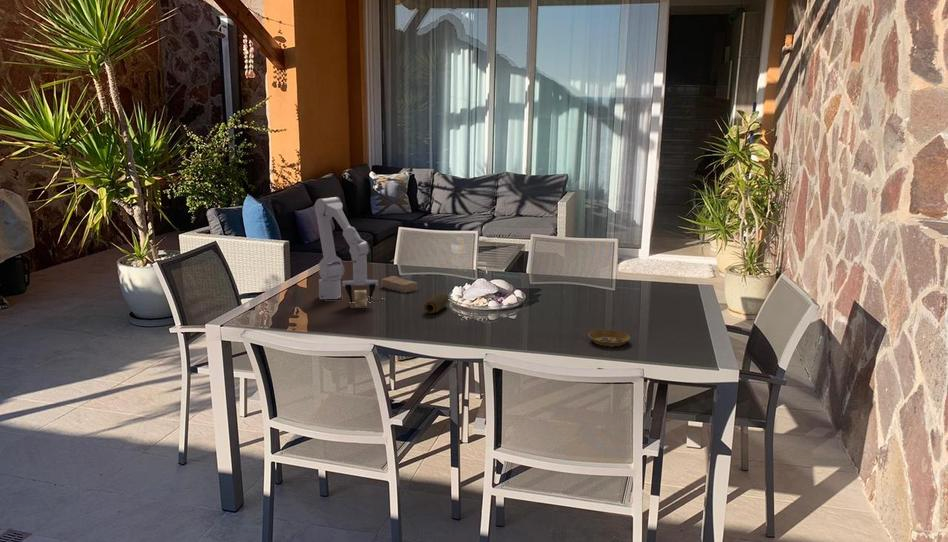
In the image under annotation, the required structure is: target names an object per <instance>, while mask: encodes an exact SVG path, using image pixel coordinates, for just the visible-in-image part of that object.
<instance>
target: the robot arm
mask: <svg viewBox="0 0 948 542" xmlns="http://www.w3.org/2000/svg"><path fill="white" fill-rule="evenodd" d="M341 201H342V200H341V199H340V197H338V196H334V197H325V198H324V197H323V198H318V199H316V201H315V203H314V210H315V217H316V220H317V226H318V233H319V238H320V239H319V240H320V244H321V250H322V256H323V257H322V259H321V260H320V261H319V262H318V265H319V266H318V267H319V268H318V269H319V270H318V274H319V277H320V278H319V279H318V298H319V299H338V298H340V297H341V295H342V292H341V291H342V287H345V290H346V293H347V294H348V297H349V302H350V303H353V294H352V287H354V286H357V287H358V286H368V289H369V296H368V297H369V301H368V302H369V303H371V302H372V301H371V298H372V296H374V292H375V289H376V286H379V280H378V279H368V264H367V263H368V262H367V261H368V259H367V257H368V256H367V255H368V254H369V253H370V245H369V243H368V242H367V241H366V240H364V239H362V238H361V236H360V234H359V233H358V231H357V229H356V228H355V227H354V226H351V224H350V223H349V221H348V218H347V216H346V215H345V213H344V211H343V206H344V205H343V204H344V203H342V202H341ZM332 217H333V218H334V219H335V220H336V222H337V224H338V225H339V226H340V228H341V229H342V230H343V231H342V236H343V238H344V239H345V241H346V243H347V244H348V246H349V250H348V251H349V253H350V256H351V257H350V258H351V260H352V279H351V280H341V279H343V277H342V276H343V275H344V274H345V266H344V265H343V263H342V259H341V258H340V257H339V256H338V255H337V253H336V248H335V242H334V235H333V230H332V223H331V220H332ZM341 281H342V283H341ZM341 284H342V285H341ZM341 286H342V287H341ZM322 296H323V297H322Z"/></svg>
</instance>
